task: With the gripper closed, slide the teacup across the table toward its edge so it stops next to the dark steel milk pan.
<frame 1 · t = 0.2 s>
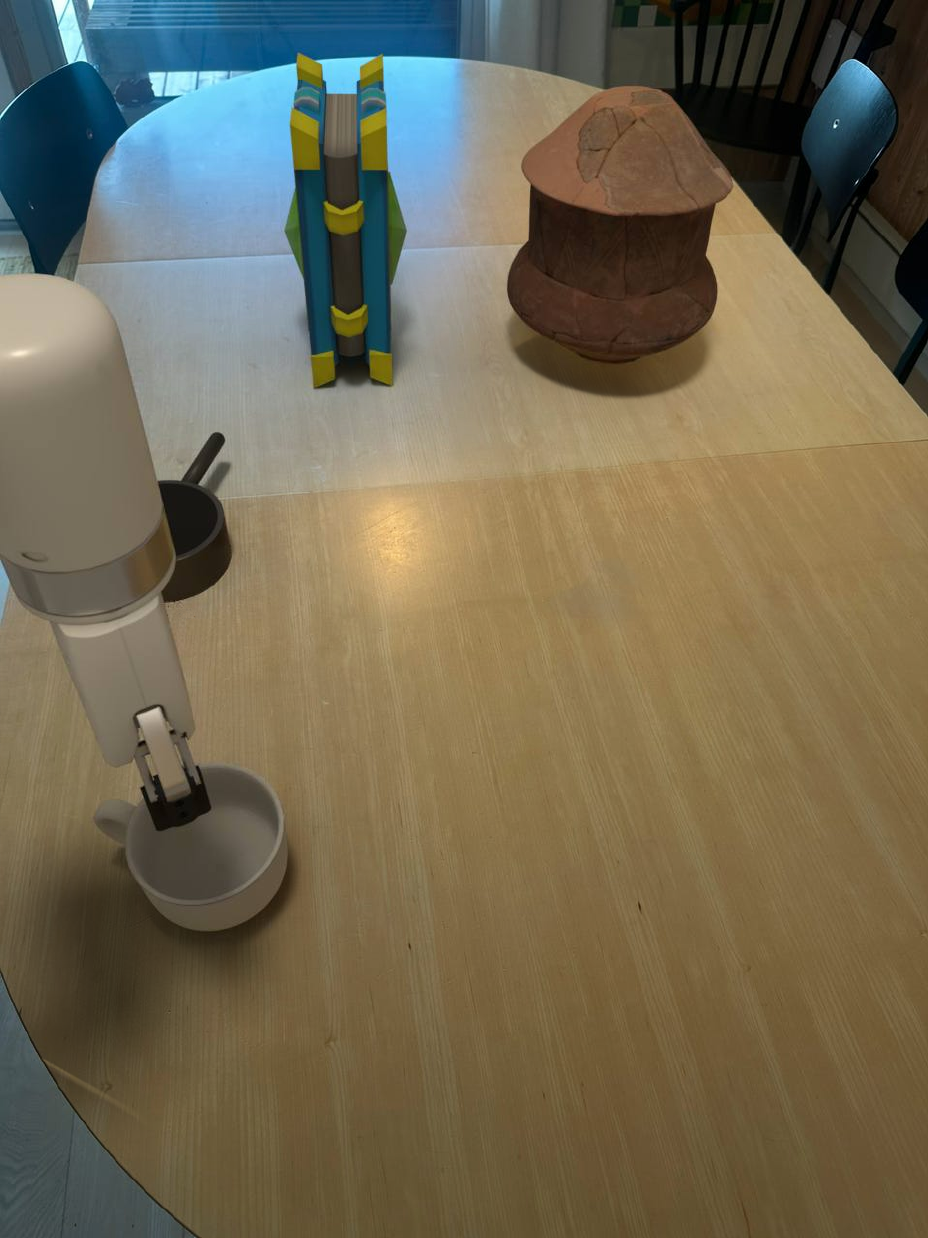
hand: (159, 754, 58), 18 cm above the table, tool pointing down, fingers open, 9 cm apart
milk pan: (169, 558, 95), on the table
pottery vessel: (601, 347, 124), on the table
teacup: (203, 875, 73), on the table
decorative book: (351, 344, 123), on the table
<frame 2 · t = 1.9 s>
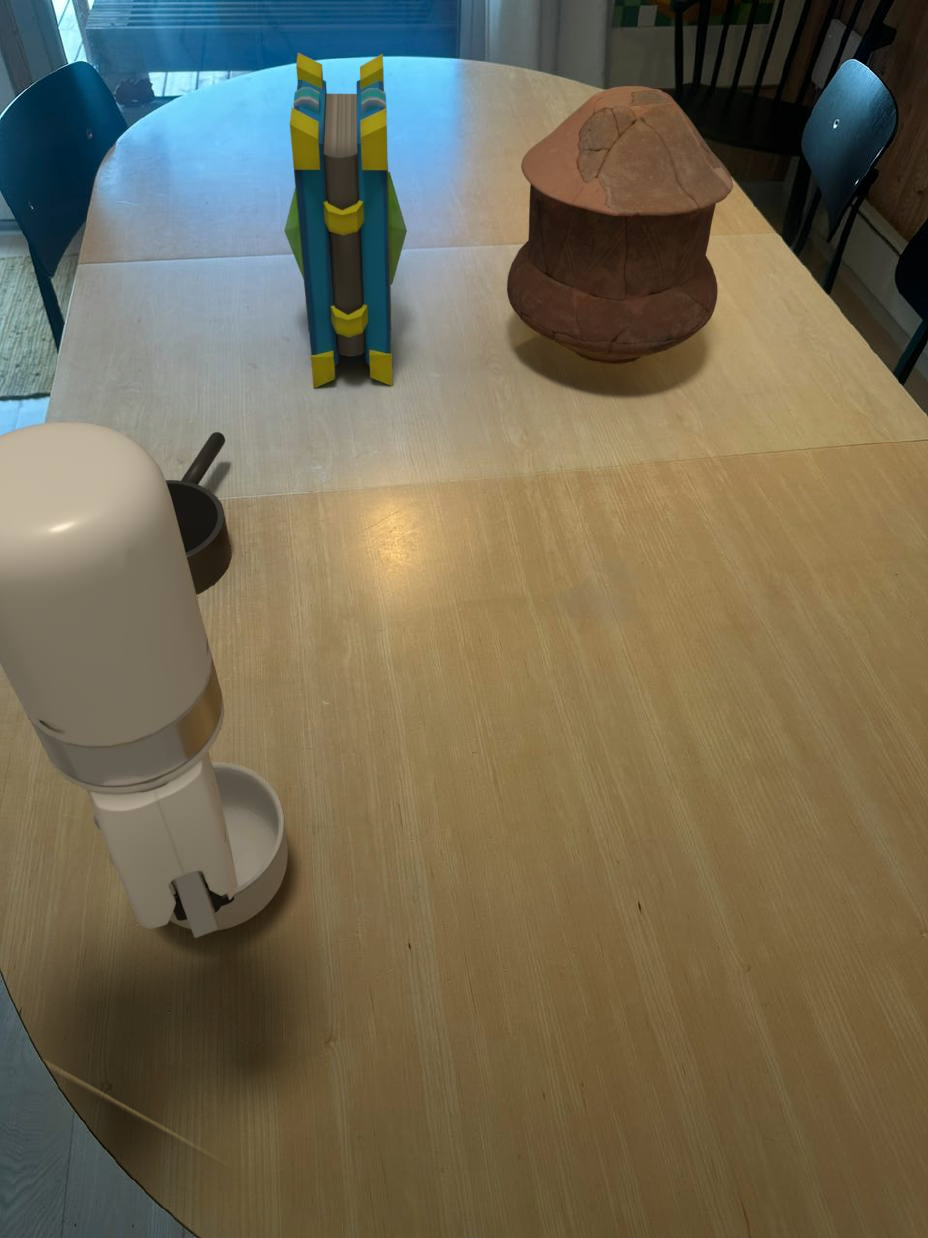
hand: (203, 899, 54), 16 cm above the table, tool pointing down, fingers closed
nothing on the table moved.
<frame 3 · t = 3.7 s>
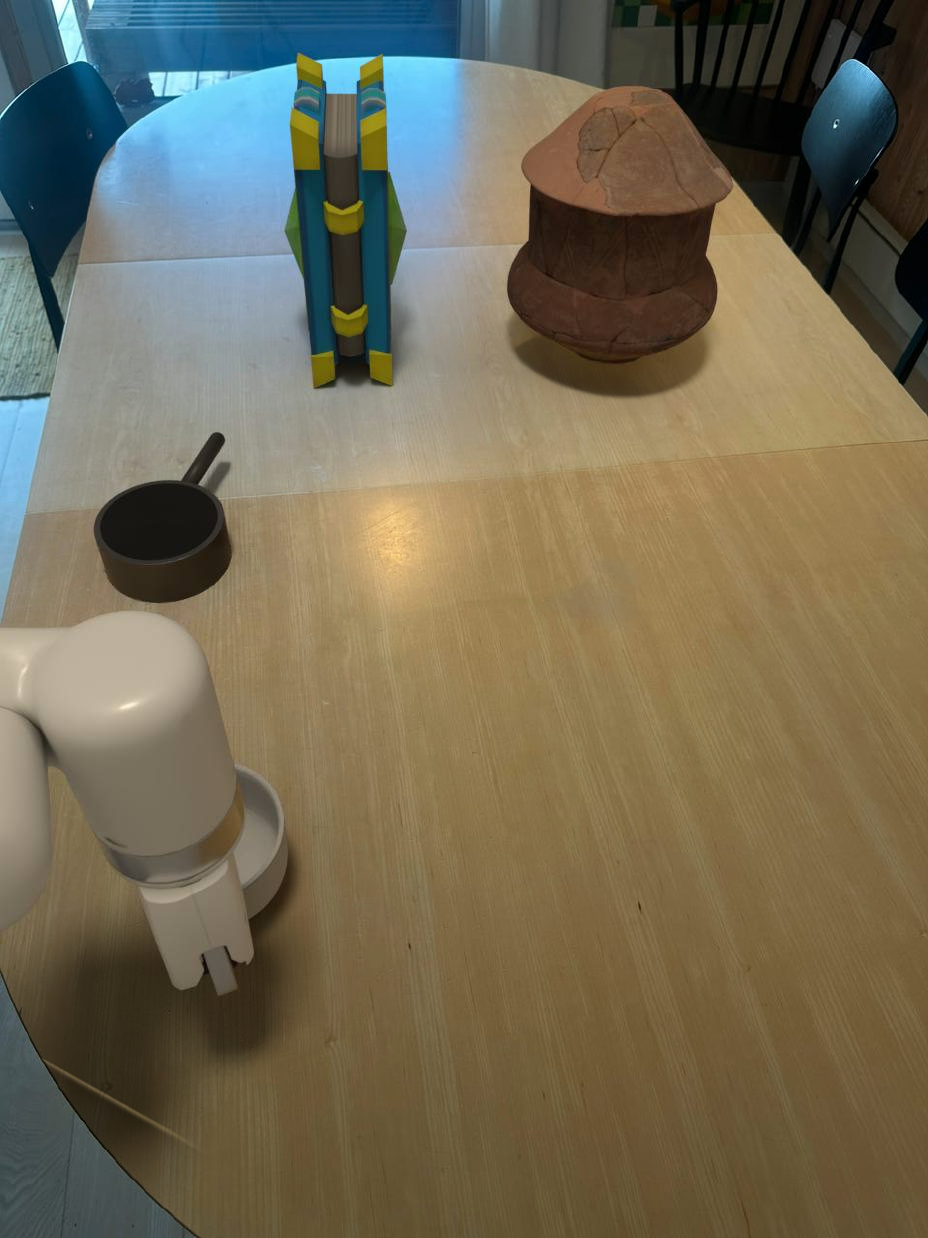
hand: (222, 956, 64), 4 cm above the table, tool pointing down, fingers closed
teacup: (204, 874, 73), on the table, touching gripper
everything else where it was.
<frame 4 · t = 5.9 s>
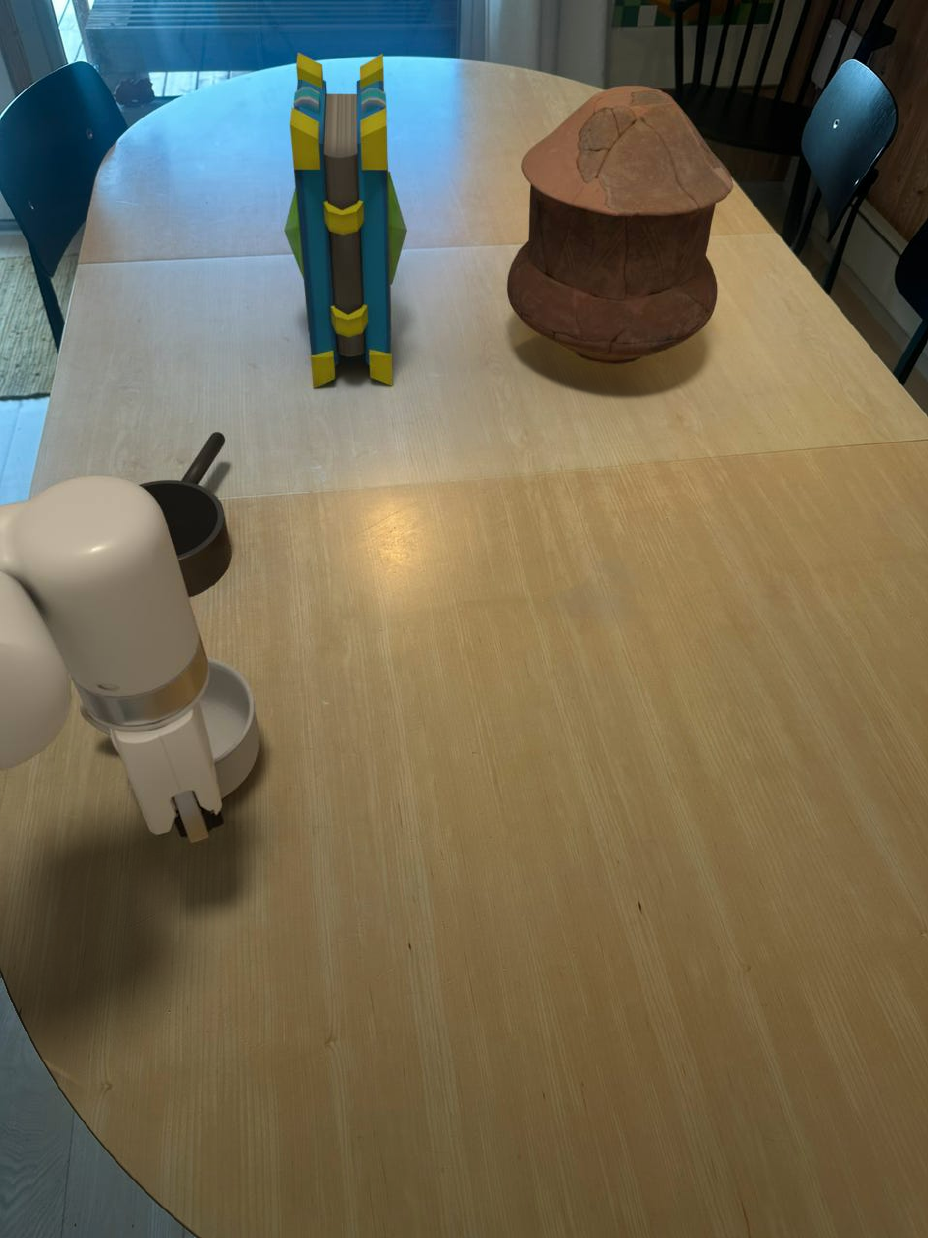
hand: (200, 822, 71), 4 cm above the table, tool pointing down, fingers closed
teacup: (182, 763, 79), on the table, touching gripper
everything else where it was.
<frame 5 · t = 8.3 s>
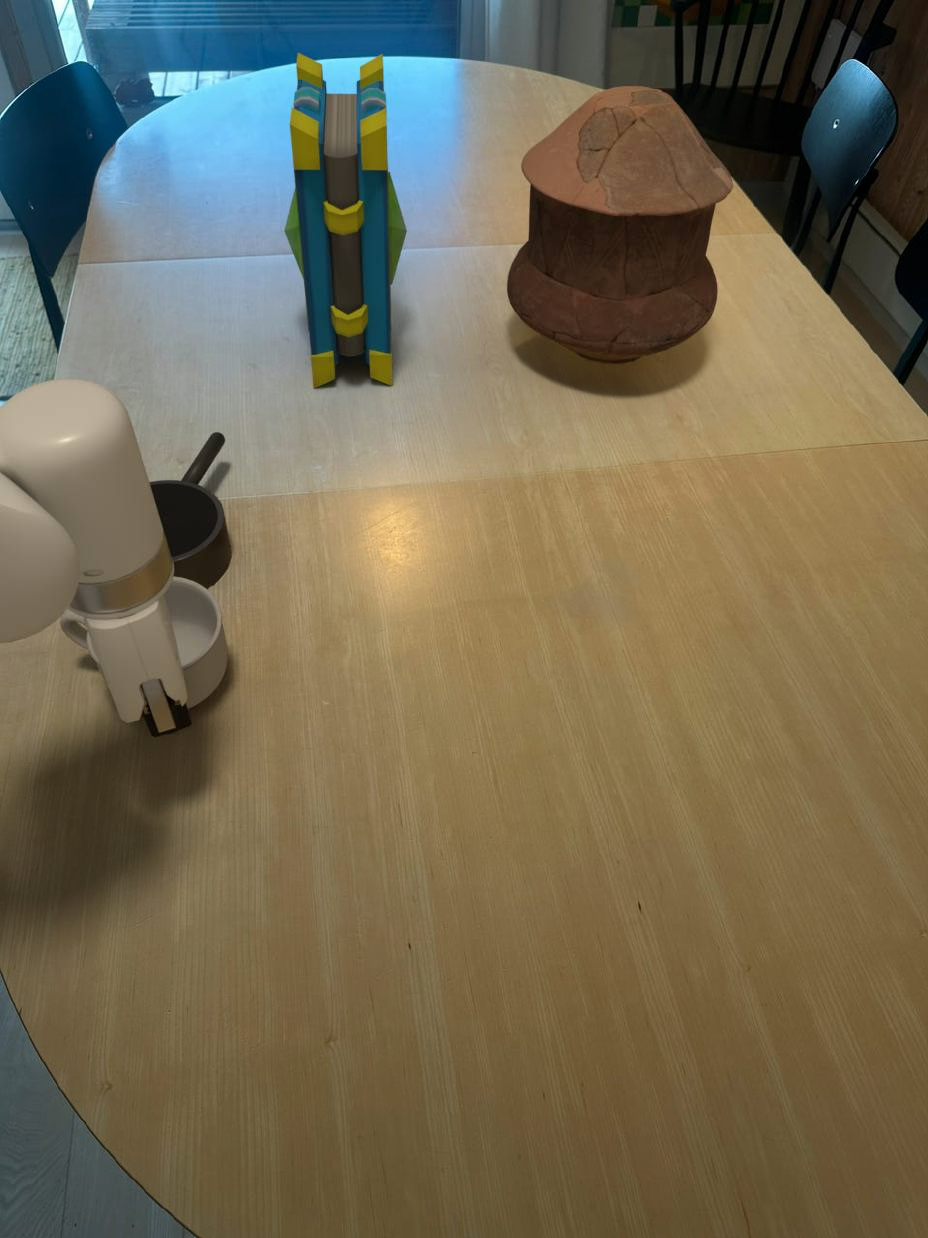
hand: (170, 724, 77), 4 cm above the table, tool pointing down, fingers closed
teacup: (157, 679, 85), on the table, touching gripper
everything else where it was.
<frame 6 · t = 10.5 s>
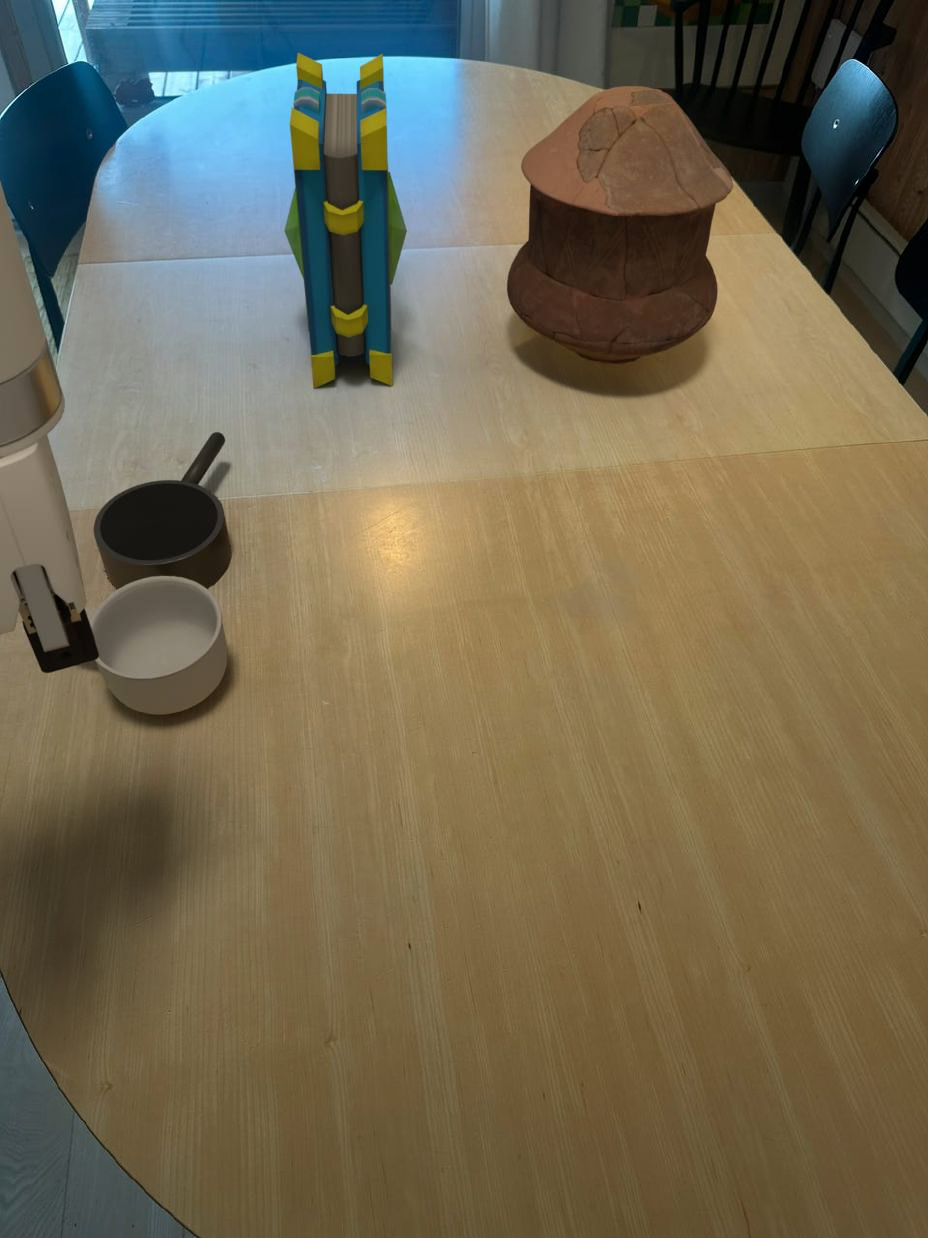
hand: (69, 656, 56), 23 cm above the table, tool pointing down, fingers closed
teacup: (156, 679, 85), on the table
everything else where it was.
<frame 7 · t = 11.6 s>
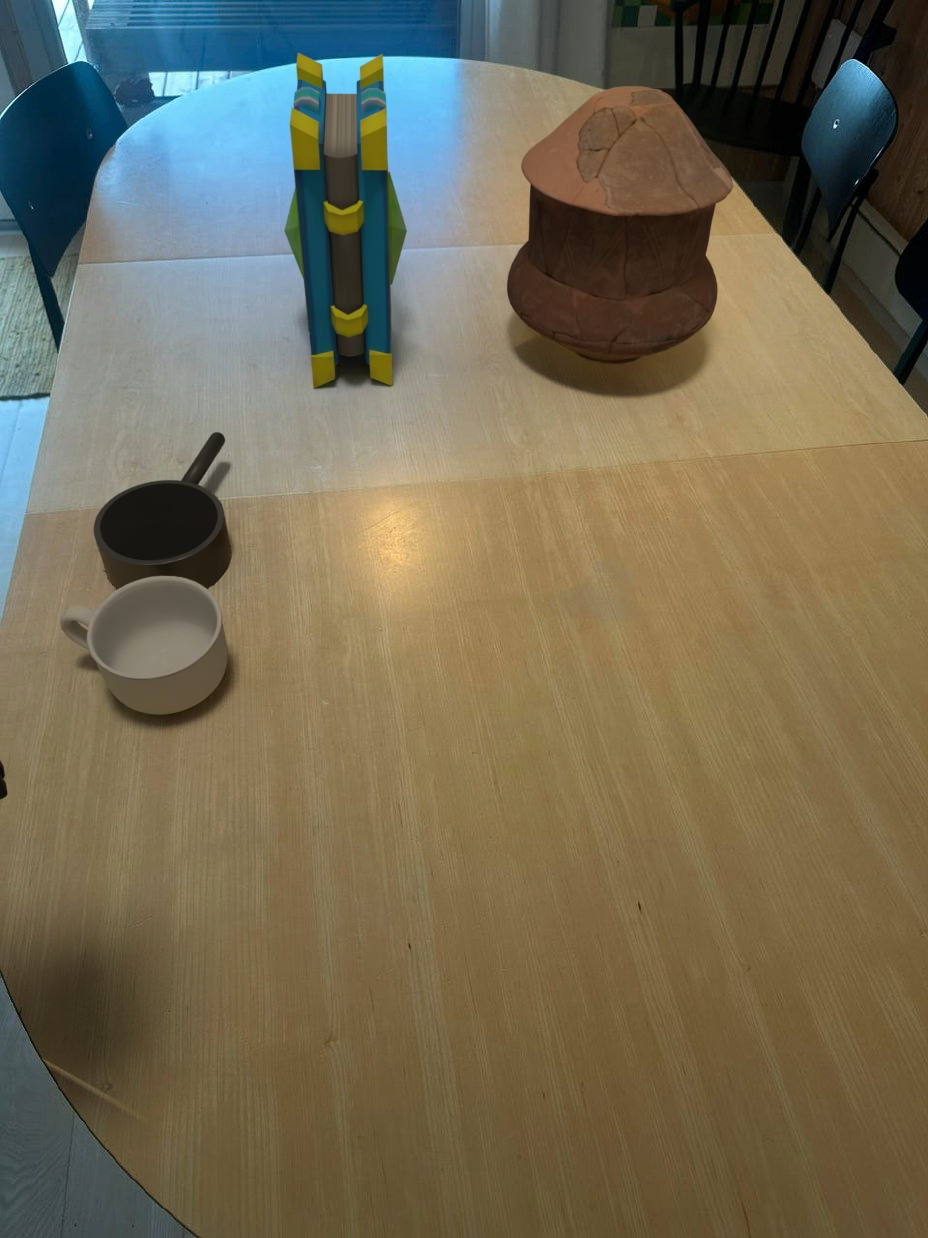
nothing on the table moved.
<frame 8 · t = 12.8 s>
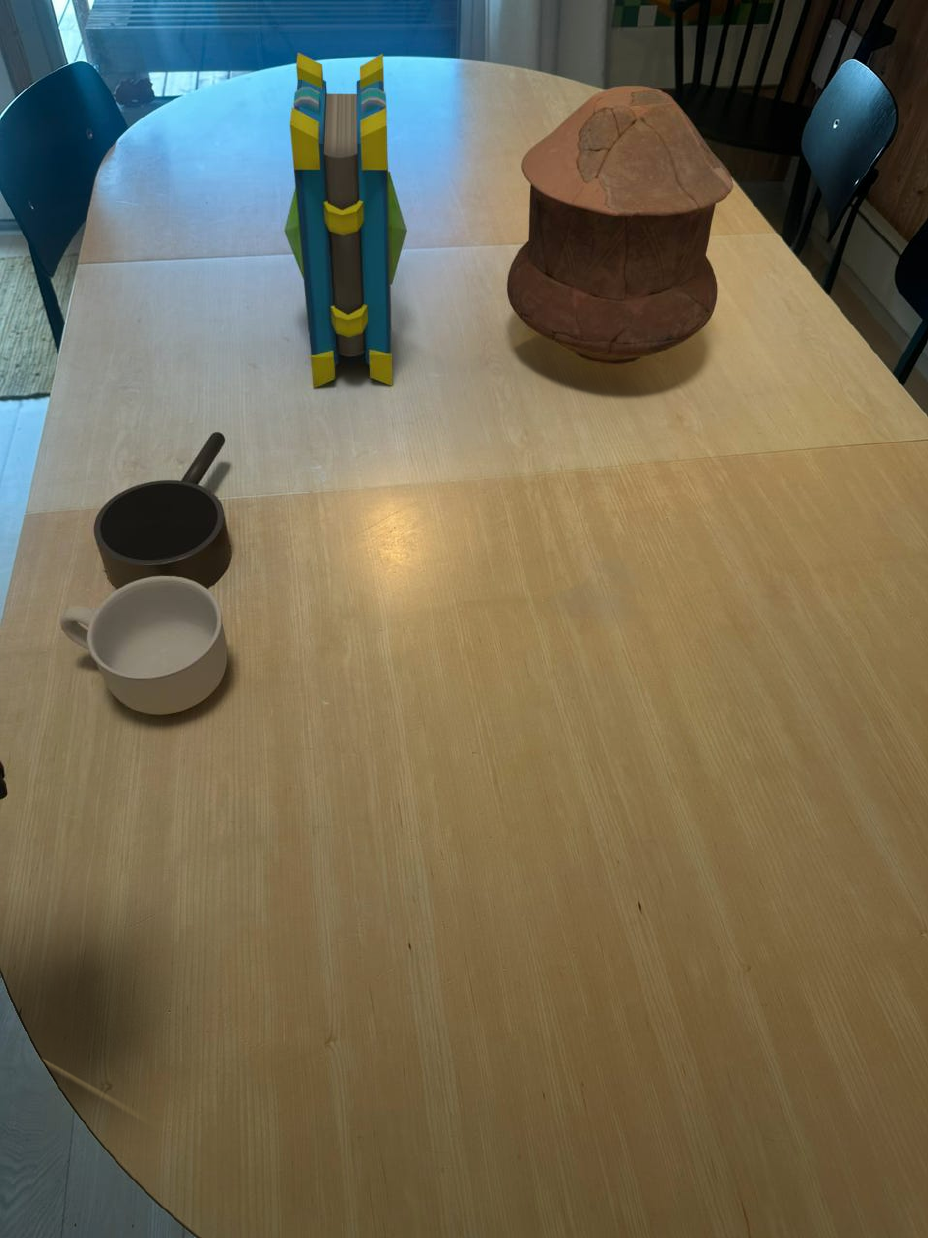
nothing on the table moved.
at the end: teacup inside the target area on the table beside the milk pan (1.7 cm from its centre), on the table; teacup moved 20.2 cm from its start; teacup tilted 0° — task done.
